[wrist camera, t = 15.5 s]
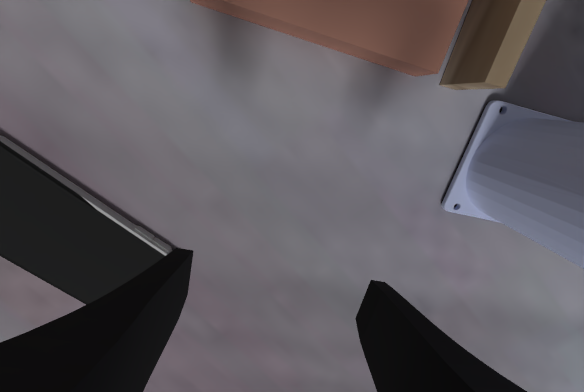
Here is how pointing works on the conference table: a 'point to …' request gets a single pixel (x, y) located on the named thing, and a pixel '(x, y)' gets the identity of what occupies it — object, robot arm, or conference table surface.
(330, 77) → the conference table surface
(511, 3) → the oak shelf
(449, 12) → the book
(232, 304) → the conference table surface
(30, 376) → the robot arm
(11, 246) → the smartphone
